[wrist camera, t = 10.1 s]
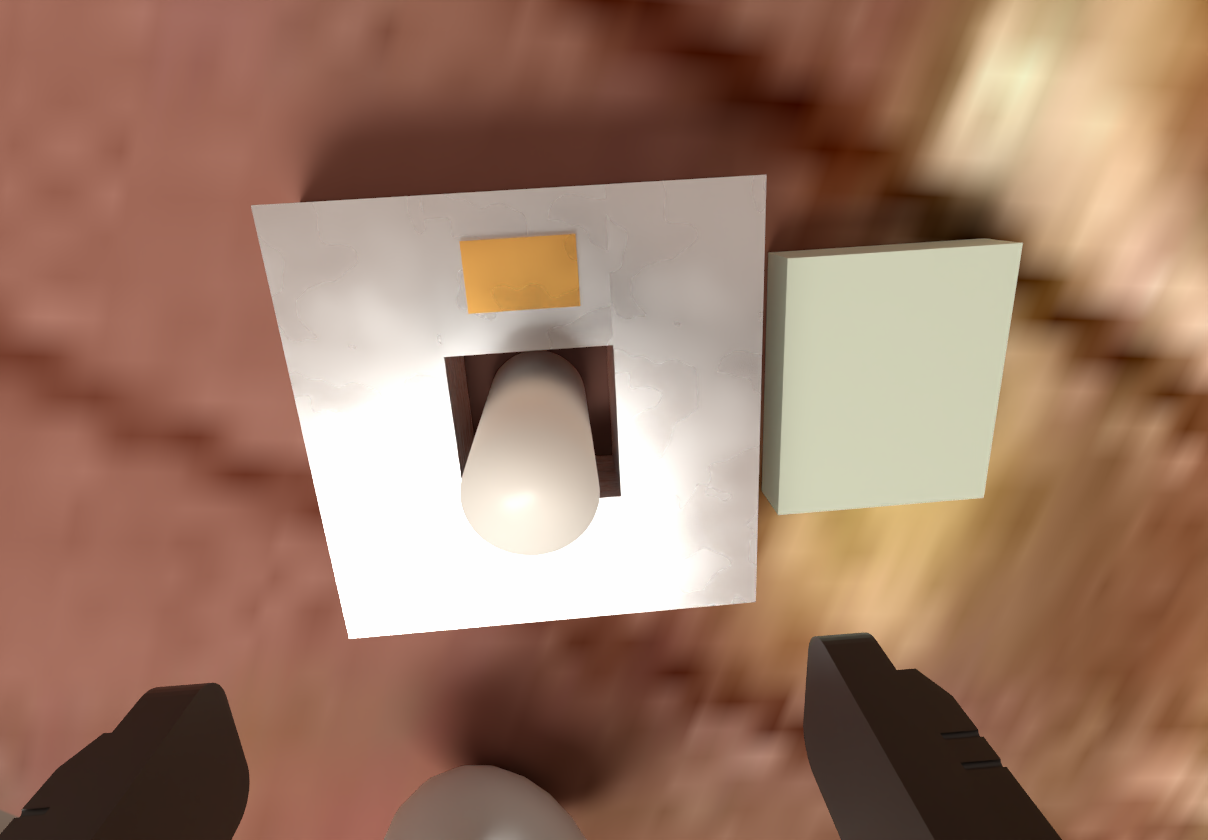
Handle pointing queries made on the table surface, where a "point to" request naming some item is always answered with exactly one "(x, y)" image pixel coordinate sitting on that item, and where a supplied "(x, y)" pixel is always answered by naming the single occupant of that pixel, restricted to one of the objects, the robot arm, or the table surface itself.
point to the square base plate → (884, 372)
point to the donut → (481, 809)
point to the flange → (513, 324)
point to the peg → (532, 458)
